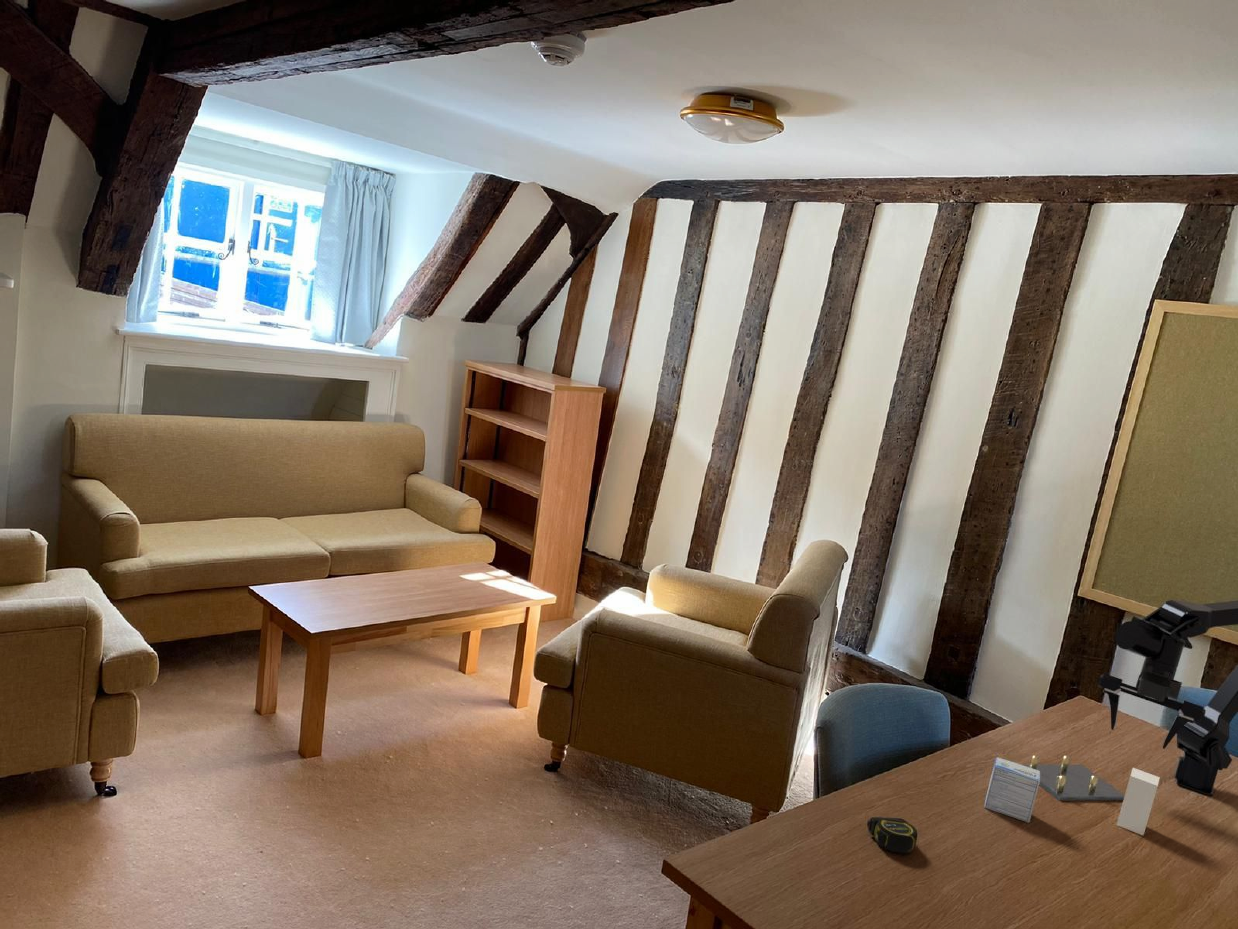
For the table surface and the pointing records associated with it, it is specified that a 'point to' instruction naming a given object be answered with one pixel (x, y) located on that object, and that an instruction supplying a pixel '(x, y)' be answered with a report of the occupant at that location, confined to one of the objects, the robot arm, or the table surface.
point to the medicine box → (1012, 789)
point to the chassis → (1073, 782)
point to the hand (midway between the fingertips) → (1137, 739)
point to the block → (1138, 801)
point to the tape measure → (893, 833)
